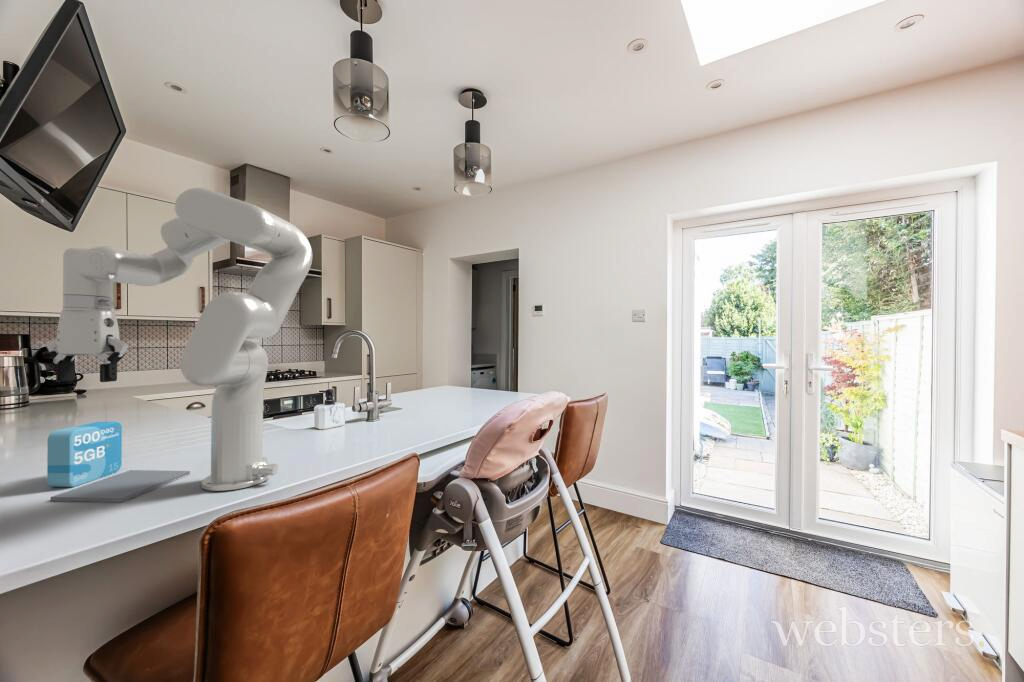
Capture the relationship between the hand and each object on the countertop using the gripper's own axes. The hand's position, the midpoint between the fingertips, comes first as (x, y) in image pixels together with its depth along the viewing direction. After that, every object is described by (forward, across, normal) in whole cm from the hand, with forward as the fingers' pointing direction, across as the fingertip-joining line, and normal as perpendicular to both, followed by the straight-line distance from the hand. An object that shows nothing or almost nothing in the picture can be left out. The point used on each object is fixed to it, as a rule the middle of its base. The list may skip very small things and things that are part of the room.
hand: (87, 381), depth 89 cm
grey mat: (+22, -13, +4) cm, 26 cm away
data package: (+22, 0, 0) cm, 22 cm away
